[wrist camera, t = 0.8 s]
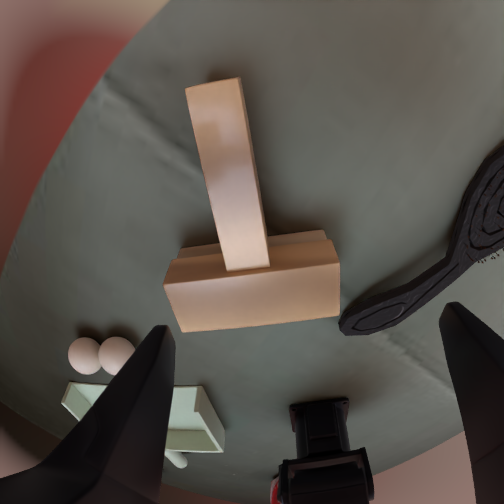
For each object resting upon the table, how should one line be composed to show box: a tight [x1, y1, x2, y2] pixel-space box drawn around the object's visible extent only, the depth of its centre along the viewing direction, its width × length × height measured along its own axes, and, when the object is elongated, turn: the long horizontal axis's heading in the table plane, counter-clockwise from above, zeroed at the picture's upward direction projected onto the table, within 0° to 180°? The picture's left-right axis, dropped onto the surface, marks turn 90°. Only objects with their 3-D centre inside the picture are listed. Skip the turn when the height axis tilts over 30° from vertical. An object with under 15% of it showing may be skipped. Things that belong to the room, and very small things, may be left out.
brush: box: [163, 77, 340, 332], centre depth 18 cm, size 14×10×4 cm
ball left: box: [68, 337, 101, 374], centre depth 26 cm, size 4×4×4 cm
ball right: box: [98, 337, 135, 375], centre depth 26 cm, size 4×4×4 cm
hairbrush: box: [338, 145, 504, 336], centre depth 19 cm, size 8×4×25 cm
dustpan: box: [61, 382, 225, 468], centre depth 35 cm, size 20×17×3 cm
